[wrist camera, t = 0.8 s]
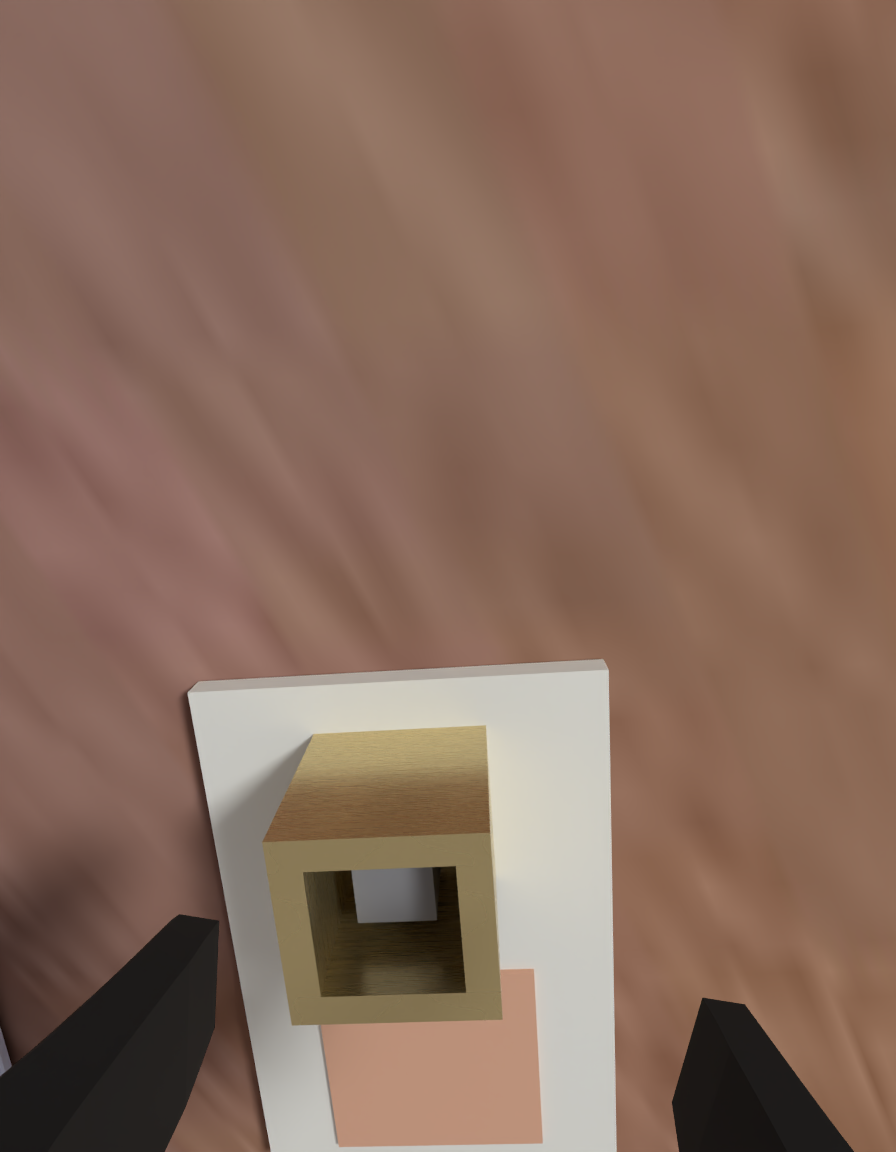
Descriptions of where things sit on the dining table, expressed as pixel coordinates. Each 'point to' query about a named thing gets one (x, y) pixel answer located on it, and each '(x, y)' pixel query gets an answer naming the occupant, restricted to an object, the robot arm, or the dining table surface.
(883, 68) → the dining table surface
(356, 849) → the sleeve
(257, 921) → the board
